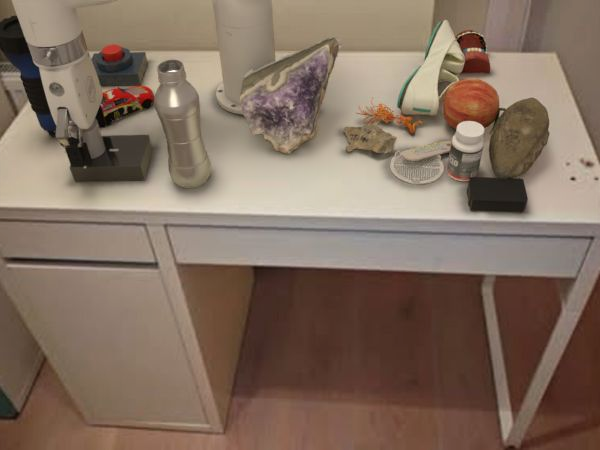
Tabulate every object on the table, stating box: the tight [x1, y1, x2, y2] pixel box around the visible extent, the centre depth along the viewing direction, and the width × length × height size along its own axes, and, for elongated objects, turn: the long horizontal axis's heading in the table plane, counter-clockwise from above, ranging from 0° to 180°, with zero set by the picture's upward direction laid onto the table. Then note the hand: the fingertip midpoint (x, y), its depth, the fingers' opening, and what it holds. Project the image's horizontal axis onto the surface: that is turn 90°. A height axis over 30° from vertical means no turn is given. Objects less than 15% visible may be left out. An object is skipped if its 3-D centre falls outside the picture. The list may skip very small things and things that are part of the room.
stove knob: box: [68, 119, 105, 159], centre depth 101 cm, size 4×4×5 cm
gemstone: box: [240, 36, 343, 155], centre depth 105 cm, size 18×16×14 cm
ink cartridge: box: [466, 176, 529, 214], centre depth 96 cm, size 5×2×8 cm
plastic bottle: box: [153, 58, 212, 189], centre depth 95 cm, size 6×7×20 cm
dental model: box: [455, 29, 491, 74], centre depth 122 cm, size 7×5×10 cm
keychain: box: [401, 140, 452, 162], centre depth 104 cm, size 10×1×3 cm
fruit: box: [442, 78, 507, 135], centre depth 106 cm, size 9×10×10 cm
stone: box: [488, 97, 550, 178], centre depth 100 cm, size 17×9×8 cm, turn 156°
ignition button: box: [101, 44, 123, 62], centre depth 122 cm, size 4×4×2 cm
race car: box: [100, 85, 155, 127], centre depth 115 cm, size 13×5×4 cm, turn 126°
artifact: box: [342, 121, 398, 154], centre depth 106 cm, size 7×3×10 cm
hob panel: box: [63, 134, 153, 183], centre depth 104 cm, size 13×9×3 cm
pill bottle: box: [446, 121, 485, 182], centre depth 98 cm, size 5×5×8 cm
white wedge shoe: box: [396, 19, 465, 116], centre depth 115 cm, size 8×24×8 cm
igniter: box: [91, 46, 148, 87], centre depth 124 cm, size 10×8×4 cm
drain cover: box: [389, 150, 445, 185], centre depth 102 cm, size 8×8×1 cm
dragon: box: [356, 97, 424, 134], centre depth 109 cm, size 4×11×4 cm, turn 68°
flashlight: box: [0, 15, 56, 138], centre depth 105 cm, size 8×8×20 cm
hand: (89, 145), depth 102 cm, fingers open, 9 cm apart
